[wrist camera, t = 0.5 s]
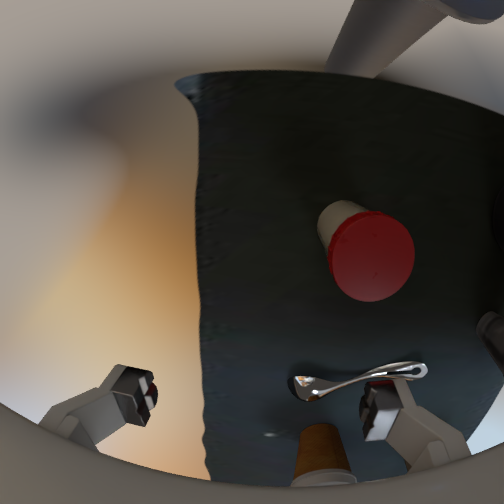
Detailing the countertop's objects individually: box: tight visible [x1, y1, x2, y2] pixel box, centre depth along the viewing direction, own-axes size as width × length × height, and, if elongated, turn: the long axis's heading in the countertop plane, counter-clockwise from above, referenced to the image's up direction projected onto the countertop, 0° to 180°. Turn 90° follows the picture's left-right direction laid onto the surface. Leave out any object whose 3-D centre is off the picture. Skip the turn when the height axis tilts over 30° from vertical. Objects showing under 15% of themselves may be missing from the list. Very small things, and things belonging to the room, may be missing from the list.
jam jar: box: [317, 200, 370, 256], centre depth 25 cm, size 6×6×11 cm
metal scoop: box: [287, 361, 428, 402], centre depth 34 cm, size 20×4×5 cm
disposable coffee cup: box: [290, 424, 357, 487], centre depth 34 cm, size 10×10×12 cm
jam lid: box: [327, 210, 415, 302], centre depth 21 cm, size 7×7×2 cm
